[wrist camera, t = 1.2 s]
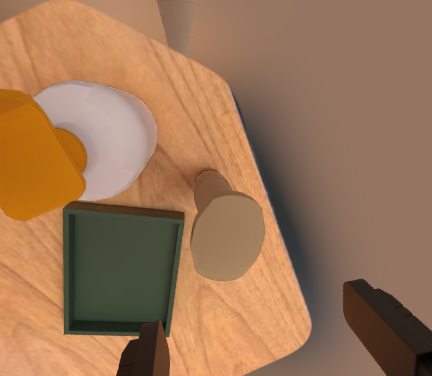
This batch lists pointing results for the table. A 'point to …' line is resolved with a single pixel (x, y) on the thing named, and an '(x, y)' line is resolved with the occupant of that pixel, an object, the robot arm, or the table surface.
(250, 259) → the handle
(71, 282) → the brush tray
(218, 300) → the table surface
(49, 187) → the soap bottle
